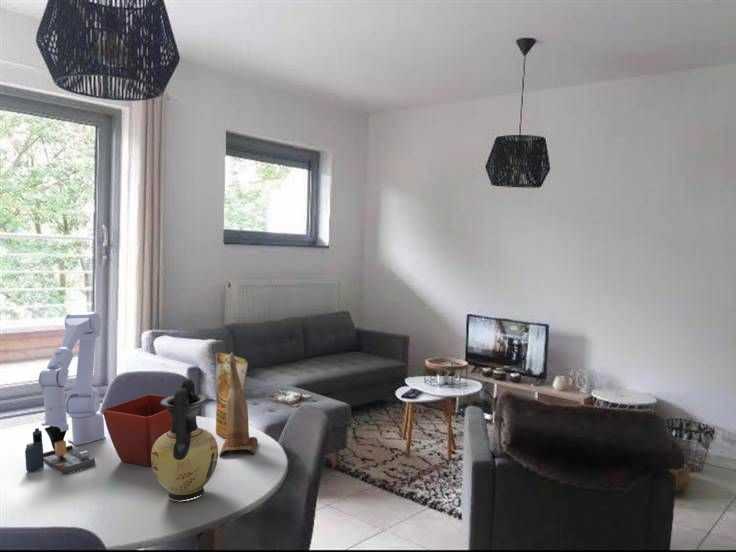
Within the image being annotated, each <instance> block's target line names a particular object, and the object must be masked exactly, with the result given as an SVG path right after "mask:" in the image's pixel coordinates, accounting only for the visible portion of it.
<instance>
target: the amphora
mask: <svg viewBox="0 0 736 552" xmlns="http://www.w3.org/2000/svg"><path fill="white" fill-rule="evenodd" d="M195 391H196V389H195V383H194V381H193V379H189V378H187V379H184V380H183V381H182V382H181V386H180V388H177V389H176V390H175V392H174V395H171V396H166V397H167V398H165V399H163V400H162V401H161V403H160V404H161V405H162V406H163V407H166V408H167V412H168V413H169V414H170V415H171V417H172V426H171V430H170V431H169V432H167V433H165V434H163V435H162V436H160V437H159V438H158V439H157V440H156V442H155V444H154V445H153V448H152V452H151V464H152V466H151V469H152V472H153V474H154V477H155V478H156V480H157V481H158V483H159V484H160V486H161V487H163V488H164V489H165V490H167V491H168V493H167V499H168V500H169V499H170V500H172V501H182V500H187V499H191V498H194V497H197V496H200V495H202V494H203V493H204V494H205V488H204V487H205V485H206V484H208V482H210V480H211V478H212V476H213V475H214V472H215V470H216V467H217V465H218V460H219V459H218V458H219V446H218V442H217V440H216V438H215V436H214V435H213V434H212V432H210V431H208V430H207V429H204V428H201V427H199V426H198V424H197V423H198V422H197V414H198V412H199V411H200V409H201V407H202V404H204V403H205V402H206V401H207V397H206V396H205V395H203V394H199V393H195ZM204 494H203V495H204ZM203 495H202V496H203ZM170 500H169V501H170ZM172 501H171V502H172Z"/></svg>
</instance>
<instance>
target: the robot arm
mask: <svg viewBox="0 0 736 552" xmlns="http://www.w3.org/2000/svg"><path fill="white" fill-rule="evenodd" d="M101 324H102V319H101V317H100V314H99V313H98V312H97V311H89V312H88V311H85V312H72V311H70V312H68V313H67V314H66V316H65V318H64V328H65V332H64V336H63V338H62V341H61V344H60V347H58V348H56V349H55V350H54V352H53V354H52V355H51V358H50V360H49V362H48V364H47V367H46V368H44V369H43V370H41V371H40V373H39V376H38V385H39V387H40V390H41V393H42V394H43V403H44V415H45V416H44V417H43V419H44V421H42V422H41V423H40V425H41V426H42V427H45V426H47V427H45V428H44V431H45V432H46V433H47V435H48V438H49V440H50V443H51V447H52V449H53V450H55V442H58V441H62V440H64V441H65V436H66V434H67V432H68V431H69V424H68V418H71V430H72V431H71V433H72V438H71V437H70V438H68V439H67V440H68V442H70V443H72V444H74V445H76V446H82V445H85V444H89V443H93V442H96V441H98V440H103V439H105V438H106V437H107V436H106V435H105V418H104V414H103V413H102V412H101V411H99V410H100V408H101V398H100V391H99V390H98V389H97V388H95V386H93V385H92V384H93V374H94V363H95V351H96V342H97V337H99V336H100V334H101V333H100V332H101V326H102V325H101ZM78 341H79V345H78V356H77V357H78V358H77V364H76V365H77V366H76V376H75V377H76V378H75V386H74V387H73V388H72V389H70V390H68V392H67V395H66V392H65V386H66V385H67V383H68V380H69V372H70V370H69V368H70V366H71V362H73V361H72V360H73V358H74V353H73V349H74V348H75V346H76V344H77V342H78ZM67 415H68V416H69V417H68V418H67Z"/></svg>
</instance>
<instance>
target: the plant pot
mask: <svg viewBox="0 0 736 552" xmlns="http://www.w3.org/2000/svg"><path fill="white" fill-rule="evenodd" d="M167 397H168V396H165V395H160V394H159V395H158V394H146V395H143V396H140V397H137V398H134V399H130V400H128V401H125V402H122V403H117V404H114V405H113V406H110V407H107V408H104V409H103V410H102V412H103V413H102V415H103V419H104V423H105V425H106V429H107V431H108V435H109V437H110V441H111V443H112V445H113V447H114V450H115V452H116V454H117V456H118V458H119V459H120V461H121V462H125V463H129V464H134V465H138V466H144V467H147V468H148V467H152V464H151V452H152V448H153V445H154V444H155V442H156V440H157V439H158V438H159V437H160V436H162V435H163V434H165V433H167V432H169V431H170V430H171V426H172V417H171V415H170V414H169V413H168V412H167V408H166V407H163V406H162V405H161V404H160V403H161V401H162V400H163V399H165V398H167Z"/></svg>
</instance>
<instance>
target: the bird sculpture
mask: <svg viewBox="0 0 736 552" xmlns="http://www.w3.org/2000/svg"><path fill="white" fill-rule="evenodd" d="M229 354H230V391H229V394H228V397H227V401H226V424H227V439H224V442H223V444H222V446H221V449H220V451H219V452H218V458H219V457H221V456H222V455H223V453H225V452H226V451H232V450H233V451H237V450H248V451H249V452H250V453H251V454H253V455H255V454H256V450H257V446H258V443H259V442H258V438H257V437H255V436H250V433H249V431H250V430H249V411H248V410H249V408H248V403H247V399H246V396H245V393H244V392H243V390H242V387H241V383H240V379H239V375H238V372H237V368H236V362H235V357H234V356H235V354H234V352H230V353H229Z"/></svg>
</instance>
